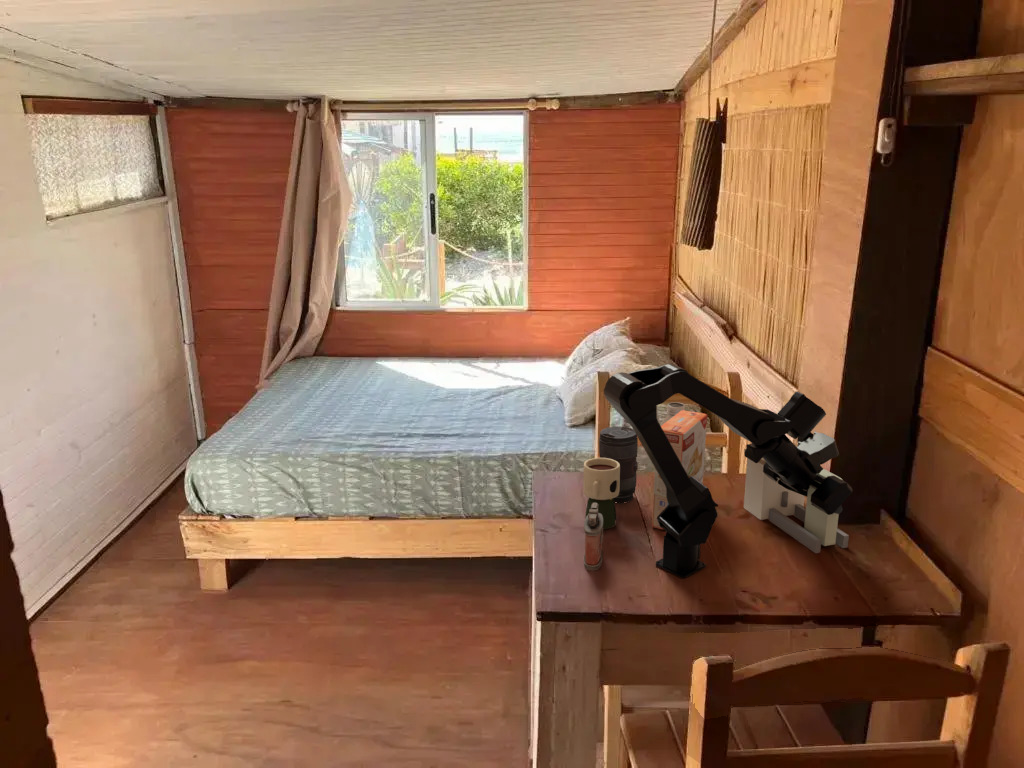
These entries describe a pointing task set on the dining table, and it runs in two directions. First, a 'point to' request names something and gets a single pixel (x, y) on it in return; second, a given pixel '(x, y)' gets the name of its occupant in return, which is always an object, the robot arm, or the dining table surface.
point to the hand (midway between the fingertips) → (828, 504)
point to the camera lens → (621, 457)
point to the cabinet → (780, 506)
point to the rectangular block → (821, 518)
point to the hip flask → (593, 538)
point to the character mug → (602, 487)
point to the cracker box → (682, 452)
